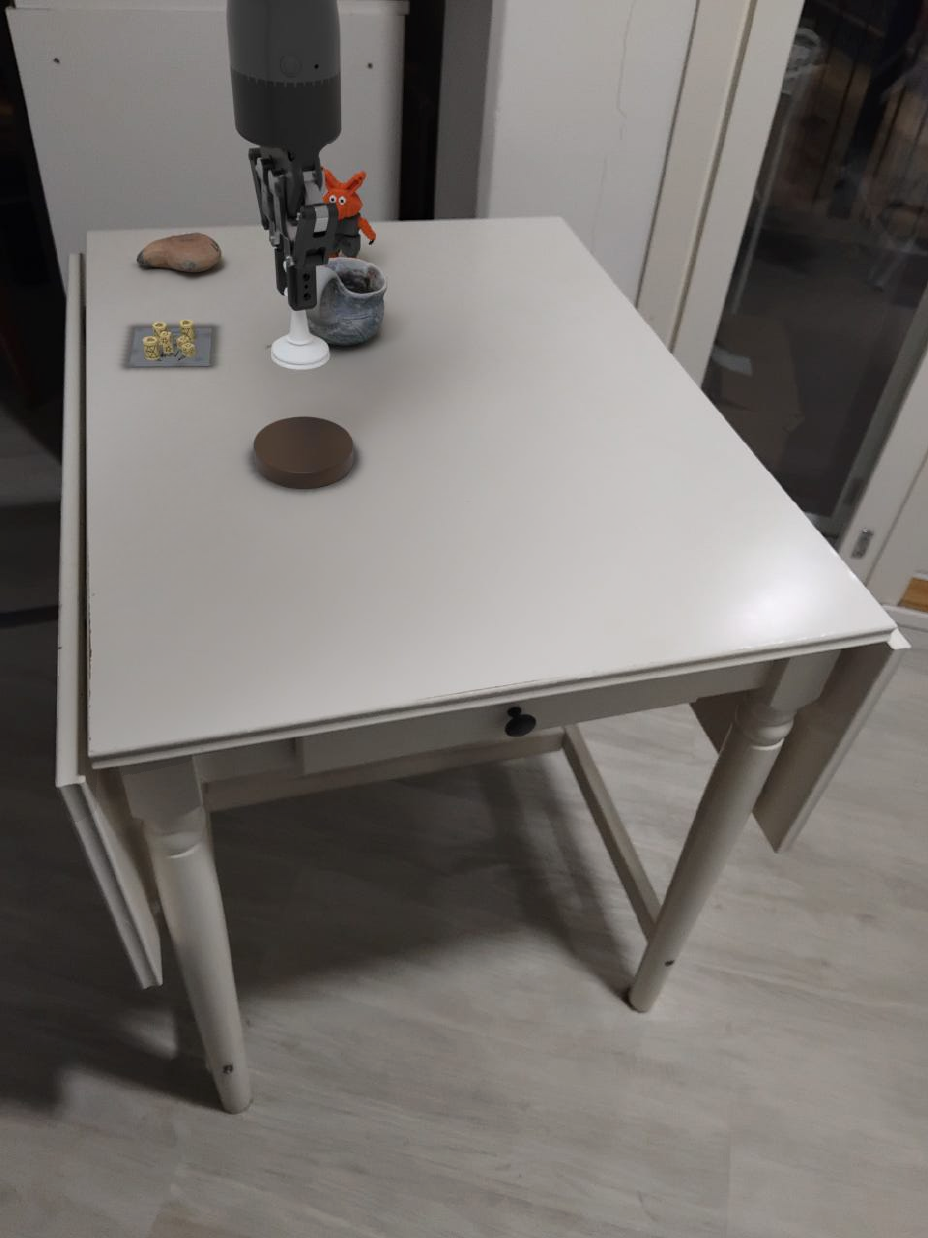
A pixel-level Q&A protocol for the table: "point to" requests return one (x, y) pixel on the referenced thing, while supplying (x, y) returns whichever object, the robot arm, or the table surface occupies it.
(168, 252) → the brown rounded lump
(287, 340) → the chess piece
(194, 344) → the dice set
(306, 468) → the walnut chip
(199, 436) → the table surface
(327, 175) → the toy animal
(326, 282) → the mug
